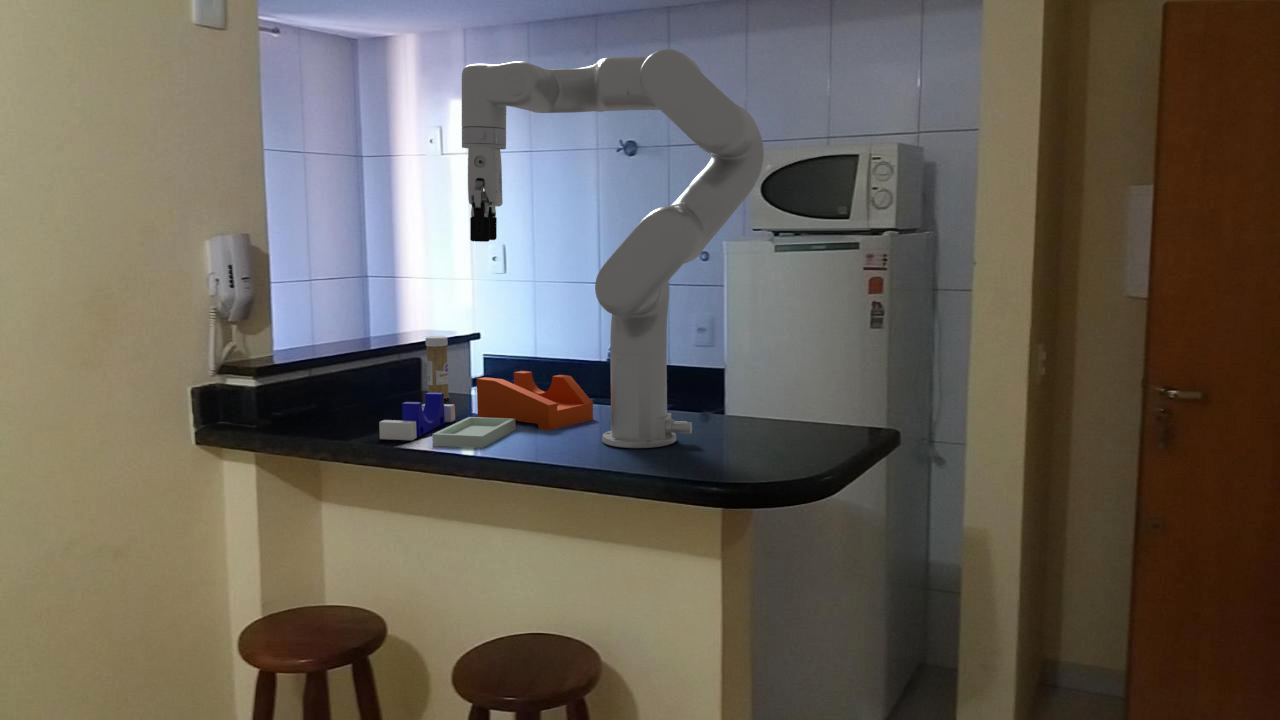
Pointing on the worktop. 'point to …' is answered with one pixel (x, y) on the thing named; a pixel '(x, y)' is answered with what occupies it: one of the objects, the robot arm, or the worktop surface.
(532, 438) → the worktop surface
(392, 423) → the white rectangular blocks
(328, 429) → the worktop surface
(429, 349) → the sprinkles bottle
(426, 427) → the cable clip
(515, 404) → the tape dispenser
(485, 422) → the tray
